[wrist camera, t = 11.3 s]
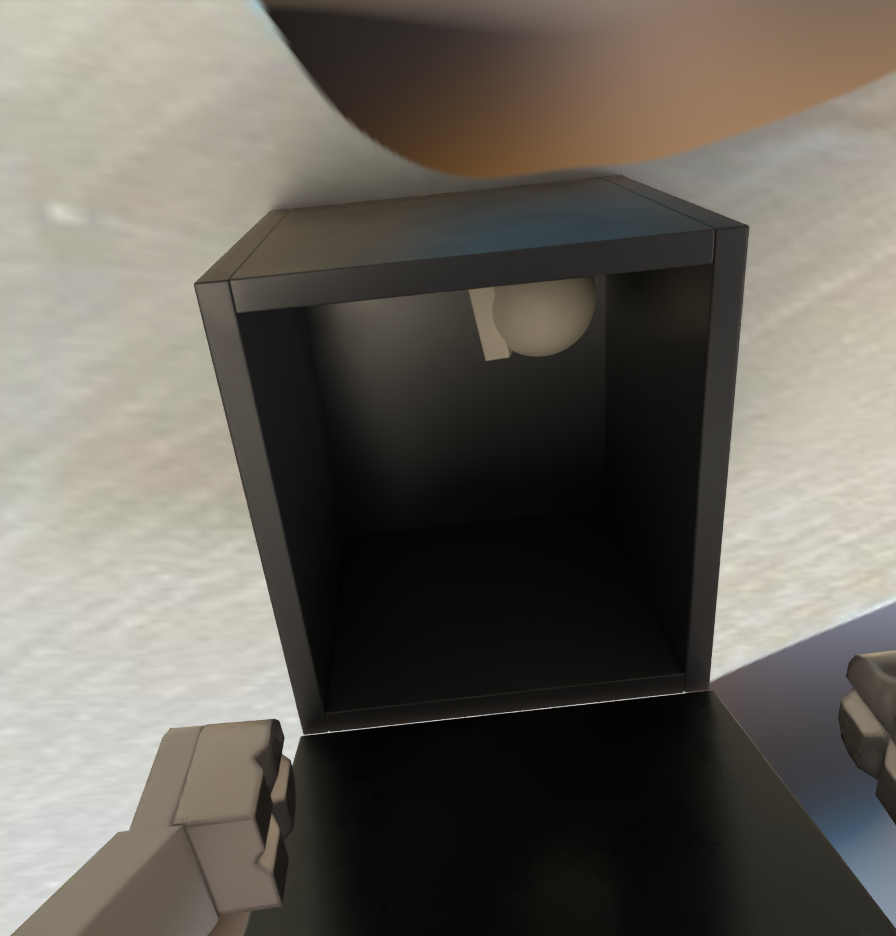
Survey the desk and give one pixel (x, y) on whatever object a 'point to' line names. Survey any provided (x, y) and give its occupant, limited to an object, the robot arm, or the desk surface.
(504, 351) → the beige rounded piece
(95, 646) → the desk surface
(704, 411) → the waste bin
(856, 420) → the desk surface
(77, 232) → the desk surface
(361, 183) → the desk surface
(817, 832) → the bin lid
